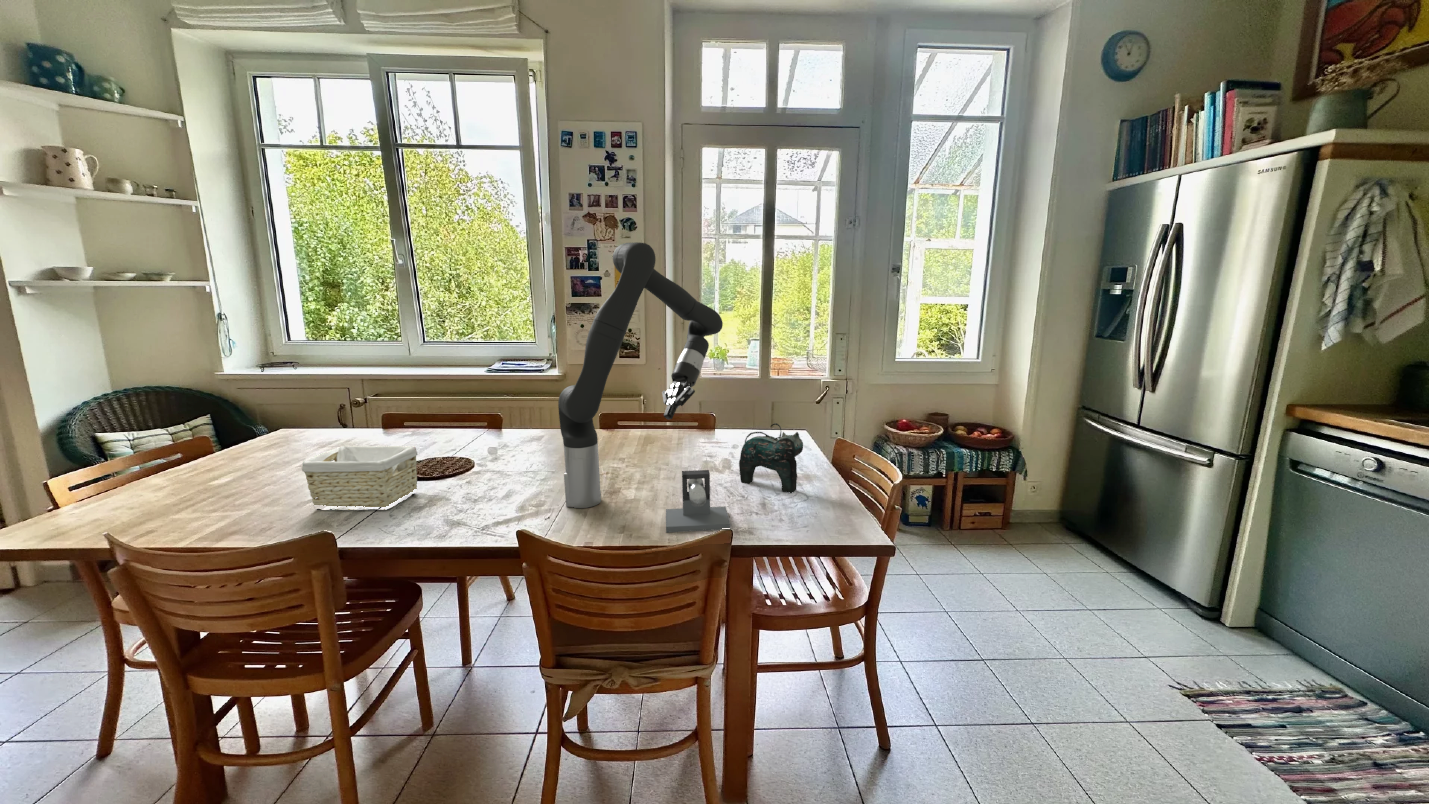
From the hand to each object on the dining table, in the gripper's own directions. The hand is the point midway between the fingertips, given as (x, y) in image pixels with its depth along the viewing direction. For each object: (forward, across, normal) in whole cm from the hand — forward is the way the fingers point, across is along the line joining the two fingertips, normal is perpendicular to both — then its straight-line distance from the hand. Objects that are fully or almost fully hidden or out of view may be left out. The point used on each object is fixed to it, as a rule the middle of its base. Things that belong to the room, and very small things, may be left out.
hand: (667, 417), depth 153 cm
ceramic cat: (+5, +11, +36) cm, 38 cm away
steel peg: (+21, +16, +7) cm, 28 cm away
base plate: (+25, +14, +12) cm, 31 cm away
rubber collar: (+20, +13, +9) cm, 26 cm away
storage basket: (+47, -63, -43) cm, 90 cm away
